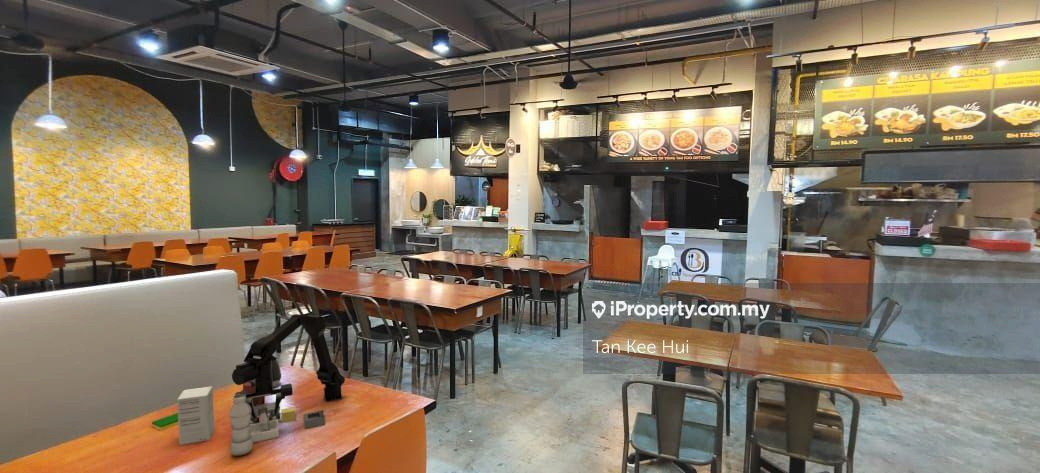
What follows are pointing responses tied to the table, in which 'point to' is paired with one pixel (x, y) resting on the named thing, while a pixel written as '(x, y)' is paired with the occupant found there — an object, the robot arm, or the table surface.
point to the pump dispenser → (276, 373)
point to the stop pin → (264, 419)
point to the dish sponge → (166, 422)
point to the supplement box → (195, 415)
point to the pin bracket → (314, 419)
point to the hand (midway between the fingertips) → (265, 416)
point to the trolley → (270, 411)
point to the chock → (288, 414)
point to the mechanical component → (250, 389)
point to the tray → (266, 435)
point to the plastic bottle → (240, 426)
